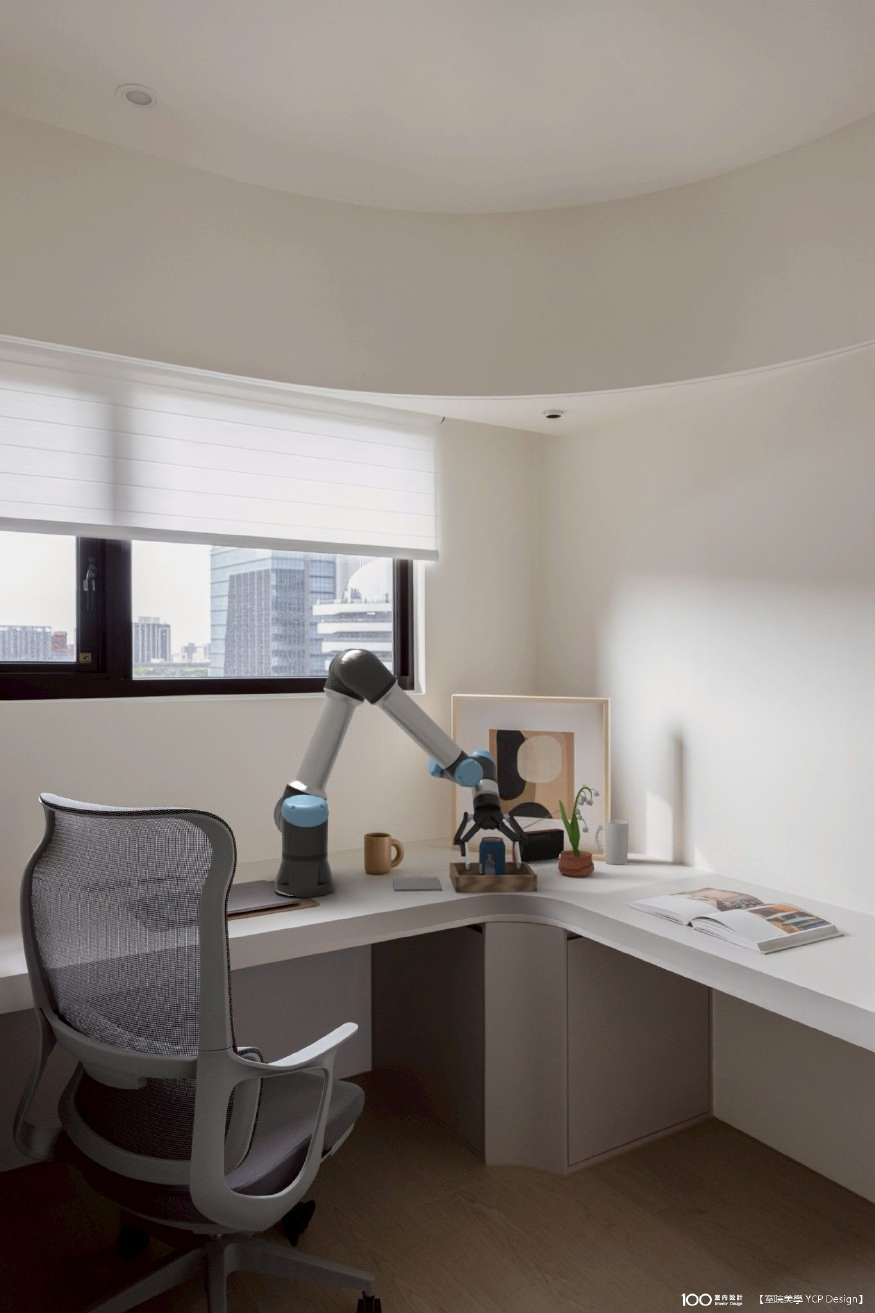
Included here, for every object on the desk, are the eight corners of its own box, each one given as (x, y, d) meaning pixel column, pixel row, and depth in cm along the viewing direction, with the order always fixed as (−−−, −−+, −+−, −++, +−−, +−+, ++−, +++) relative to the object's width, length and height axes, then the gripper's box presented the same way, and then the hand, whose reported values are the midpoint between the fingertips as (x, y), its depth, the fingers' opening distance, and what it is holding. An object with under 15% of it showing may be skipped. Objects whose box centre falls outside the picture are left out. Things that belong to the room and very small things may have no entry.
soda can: (498, 880, 245) (499, 835, 245) (509, 886, 239) (509, 840, 239) (474, 881, 243) (475, 836, 243) (484, 888, 236) (485, 842, 236)
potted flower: (589, 868, 260) (590, 781, 260) (607, 876, 250) (607, 785, 250) (551, 871, 256) (552, 782, 256) (567, 879, 246) (568, 787, 246)
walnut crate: (455, 892, 232) (455, 876, 232) (449, 877, 248) (449, 862, 248) (536, 891, 234) (536, 875, 234) (525, 876, 250) (525, 861, 250)
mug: (631, 861, 269) (631, 821, 269) (624, 866, 263) (624, 824, 263) (598, 857, 273) (598, 818, 273) (590, 862, 268) (591, 821, 268)
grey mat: (394, 891, 233) (394, 889, 233) (392, 879, 245) (392, 877, 245) (441, 890, 234) (441, 888, 234) (437, 879, 246) (437, 877, 246)
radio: (517, 864, 265) (518, 812, 265) (512, 861, 267) (512, 811, 267) (570, 858, 273) (570, 808, 273) (564, 856, 276) (564, 806, 276)
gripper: (528, 807, 258) (538, 873, 243) (440, 808, 256) (445, 874, 241) (532, 791, 252) (542, 857, 238) (442, 792, 250) (447, 858, 235)
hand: (493, 866), depth 239 cm, fingers open, 13 cm apart
